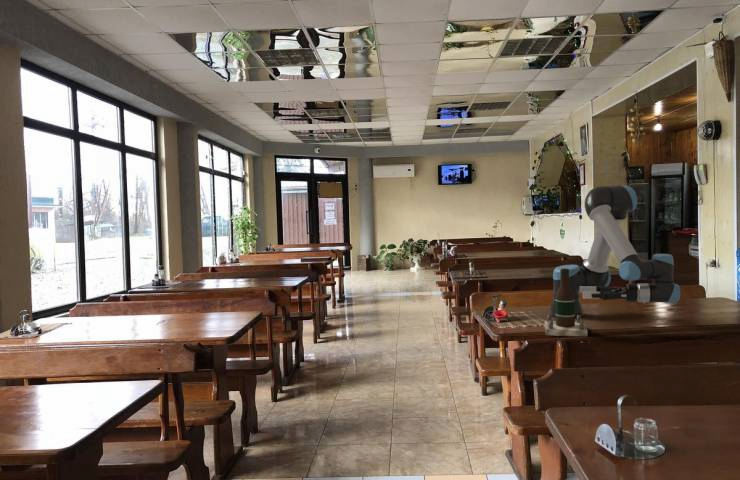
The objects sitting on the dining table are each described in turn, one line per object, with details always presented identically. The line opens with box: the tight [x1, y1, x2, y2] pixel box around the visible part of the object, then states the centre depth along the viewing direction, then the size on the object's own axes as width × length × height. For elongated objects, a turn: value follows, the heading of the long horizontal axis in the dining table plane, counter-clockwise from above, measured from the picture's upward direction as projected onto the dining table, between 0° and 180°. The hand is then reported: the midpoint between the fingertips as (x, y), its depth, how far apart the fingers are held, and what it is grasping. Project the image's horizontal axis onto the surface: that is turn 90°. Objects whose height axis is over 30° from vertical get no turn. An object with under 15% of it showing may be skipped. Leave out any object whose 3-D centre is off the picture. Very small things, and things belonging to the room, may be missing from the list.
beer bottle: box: [554, 268, 576, 327], centre depth 243 cm, size 8×8×24 cm
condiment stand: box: [544, 314, 588, 337], centre depth 244 cm, size 16×16×6 cm
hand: (581, 292), depth 241 cm, fingers open, 13 cm apart
